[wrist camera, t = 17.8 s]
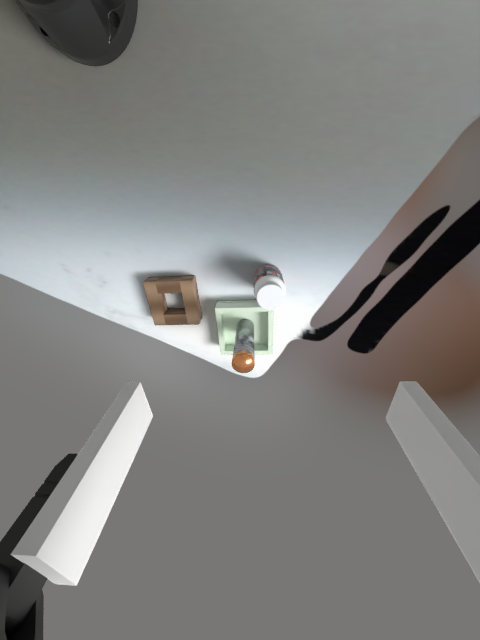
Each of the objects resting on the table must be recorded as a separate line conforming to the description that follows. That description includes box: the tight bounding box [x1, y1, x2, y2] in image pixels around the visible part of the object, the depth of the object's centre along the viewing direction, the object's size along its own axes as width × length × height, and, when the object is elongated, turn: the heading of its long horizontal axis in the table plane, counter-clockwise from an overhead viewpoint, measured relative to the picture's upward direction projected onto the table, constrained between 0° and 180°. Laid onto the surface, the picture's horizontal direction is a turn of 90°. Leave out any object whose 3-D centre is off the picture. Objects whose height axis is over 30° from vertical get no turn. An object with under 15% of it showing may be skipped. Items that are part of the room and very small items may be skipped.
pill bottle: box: [254, 265, 285, 310], centre depth 42 cm, size 6×6×10 cm
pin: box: [232, 319, 254, 373], centre depth 46 cm, size 4×4×13 cm
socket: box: [143, 276, 202, 325], centre depth 49 cm, size 10×10×3 cm
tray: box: [215, 300, 273, 355], centre depth 51 cm, size 12×12×4 cm
